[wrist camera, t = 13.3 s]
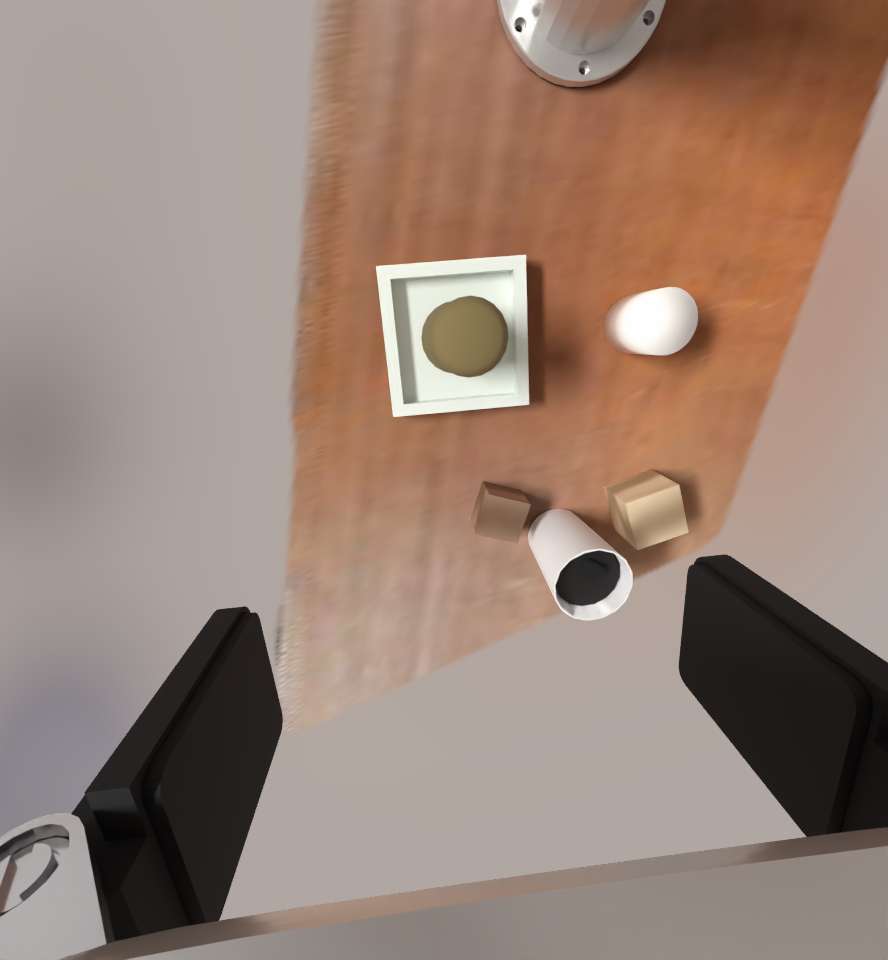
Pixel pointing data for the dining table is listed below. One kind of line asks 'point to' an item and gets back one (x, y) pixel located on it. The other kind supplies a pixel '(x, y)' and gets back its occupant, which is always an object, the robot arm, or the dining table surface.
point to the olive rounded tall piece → (465, 336)
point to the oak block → (646, 509)
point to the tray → (405, 311)
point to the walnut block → (500, 512)
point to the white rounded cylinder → (651, 322)
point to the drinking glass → (579, 565)
